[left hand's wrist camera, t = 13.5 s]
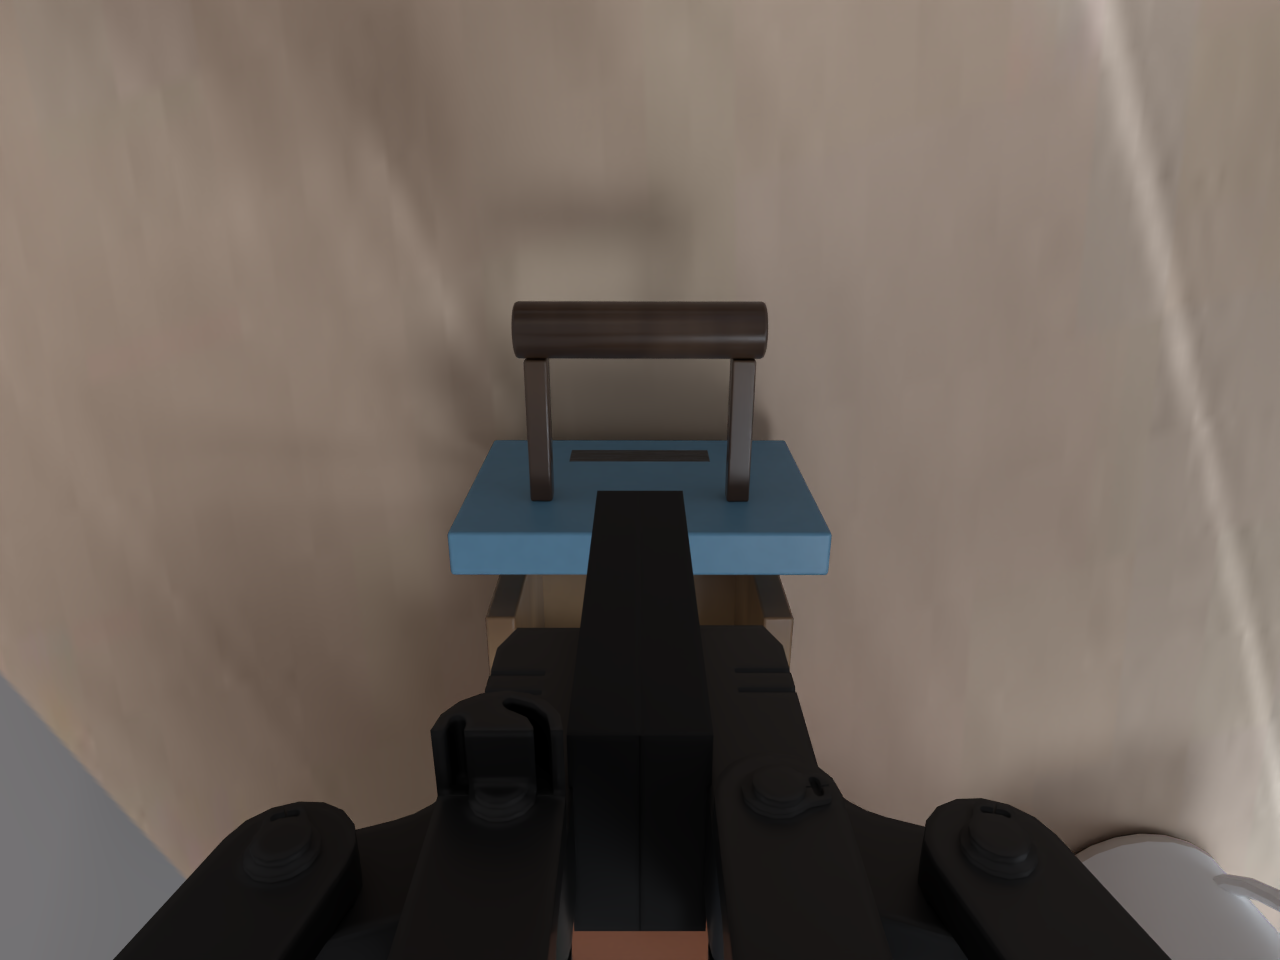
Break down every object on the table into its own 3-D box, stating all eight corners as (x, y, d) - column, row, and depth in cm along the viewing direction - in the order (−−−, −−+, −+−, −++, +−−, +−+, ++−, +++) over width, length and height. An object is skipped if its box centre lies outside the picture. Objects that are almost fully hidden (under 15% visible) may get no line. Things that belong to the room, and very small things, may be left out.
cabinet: (496, 658, 32) (444, 843, 23) (781, 658, 32) (833, 844, 23) (517, 944, 37) (481, 1178, 29) (760, 944, 37) (796, 1178, 29)
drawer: (482, 274, 25) (426, 318, 19) (796, 274, 25) (853, 318, 19) (516, 774, 32) (483, 937, 26) (762, 774, 32) (794, 937, 26)
